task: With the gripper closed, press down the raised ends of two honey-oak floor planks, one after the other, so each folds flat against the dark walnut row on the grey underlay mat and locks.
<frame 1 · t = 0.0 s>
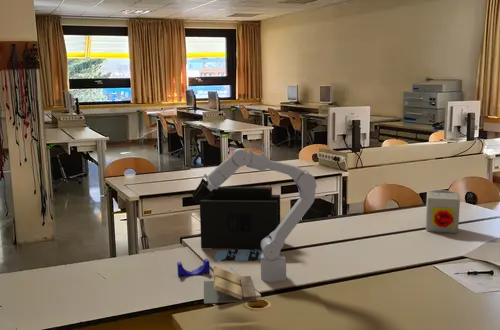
hand: (193, 198, 193), 32 cm above the table, tool tilted 50°, fingers open, 7 cm apart
oak plank near: (228, 287, 183), point 4 cm above the table, hinge at 25.0°
underlay mat: (229, 292, 189), on the table
oak plank far: (226, 276, 194), point 4 cm above the table, hinge at 25.0°
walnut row: (247, 289, 190), resting on underlay mat
electrical switch box: (441, 232, 260), on the table
blue cradle bracket: (193, 276, 207), on the table
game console: (239, 250, 237), on the table
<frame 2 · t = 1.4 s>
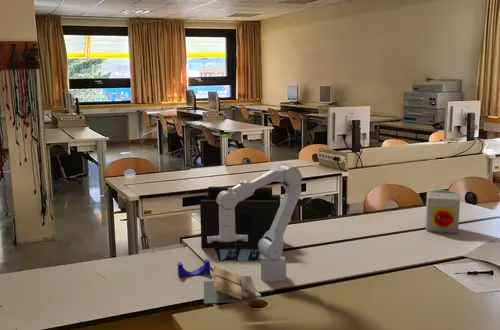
hand: (228, 260, 193), 10 cm above the table, tool pointing down, fingers open, 5 cm apart
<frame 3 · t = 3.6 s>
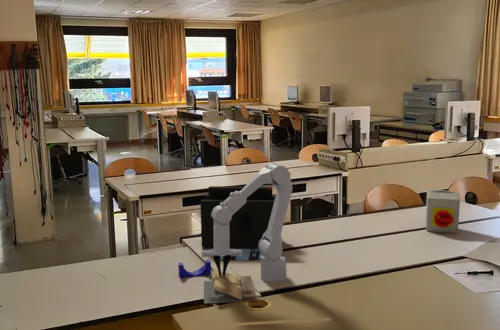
hand: (221, 275, 193), 5 cm above the table, tool pointing down, fingers closed
oak plank far: (225, 278, 194), point 3 cm above the table, hinge at 17.8°, touching gripper
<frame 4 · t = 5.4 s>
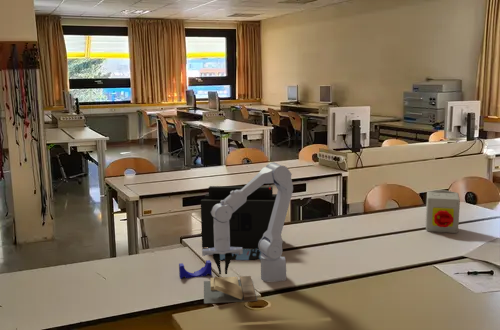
hand: (223, 273, 193), 5 cm above the table, tool pointing down, fingers closed
oak plank far: (224, 283, 194), point 1 cm above the table, hinge at 0.0°, touching underlay mat
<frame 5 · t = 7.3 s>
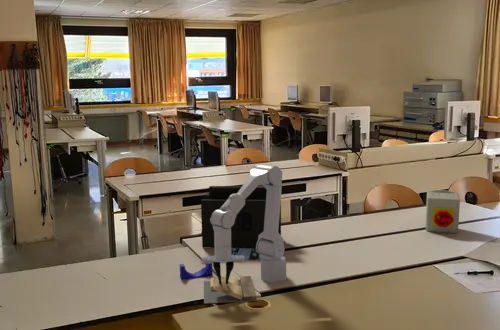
hand: (223, 283, 183), 6 cm above the table, tool pointing down, fingers closed
oak plank near: (227, 287, 183), point 4 cm above the table, hinge at 23.9°, touching gripper
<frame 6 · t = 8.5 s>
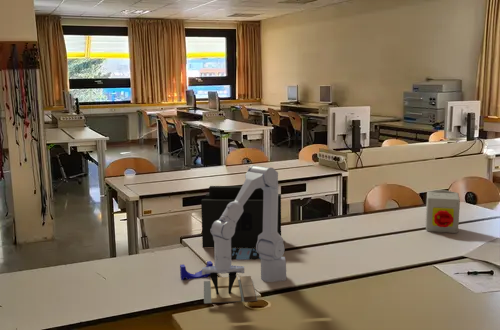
hand: (223, 293, 183), 2 cm above the table, tool pointing down, fingers closed on oak plank near, 3 cm apart
oak plank near: (225, 294, 184), point 1 cm above the table, hinge at -0.1°, touching gripper, underlay mat
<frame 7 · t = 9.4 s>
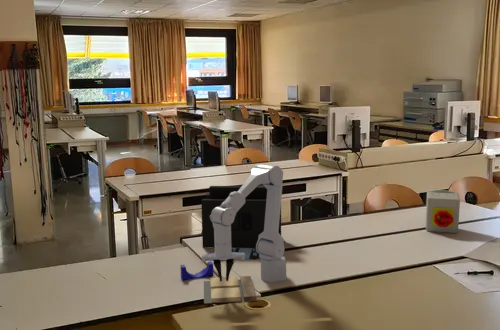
hand: (224, 280, 183), 7 cm above the table, tool pointing down, fingers closed
oak plank near: (225, 294, 184), point 1 cm above the table, hinge at -0.1°, touching underlay mat
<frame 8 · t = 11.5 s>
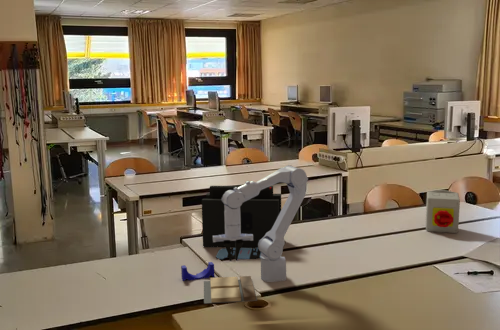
hand: (233, 260, 194), 10 cm above the table, tool pointing down, fingers closed
at the end: oak plank far at +0° (first picture: +25°); oak plank near at +0° (first picture: +25°) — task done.
